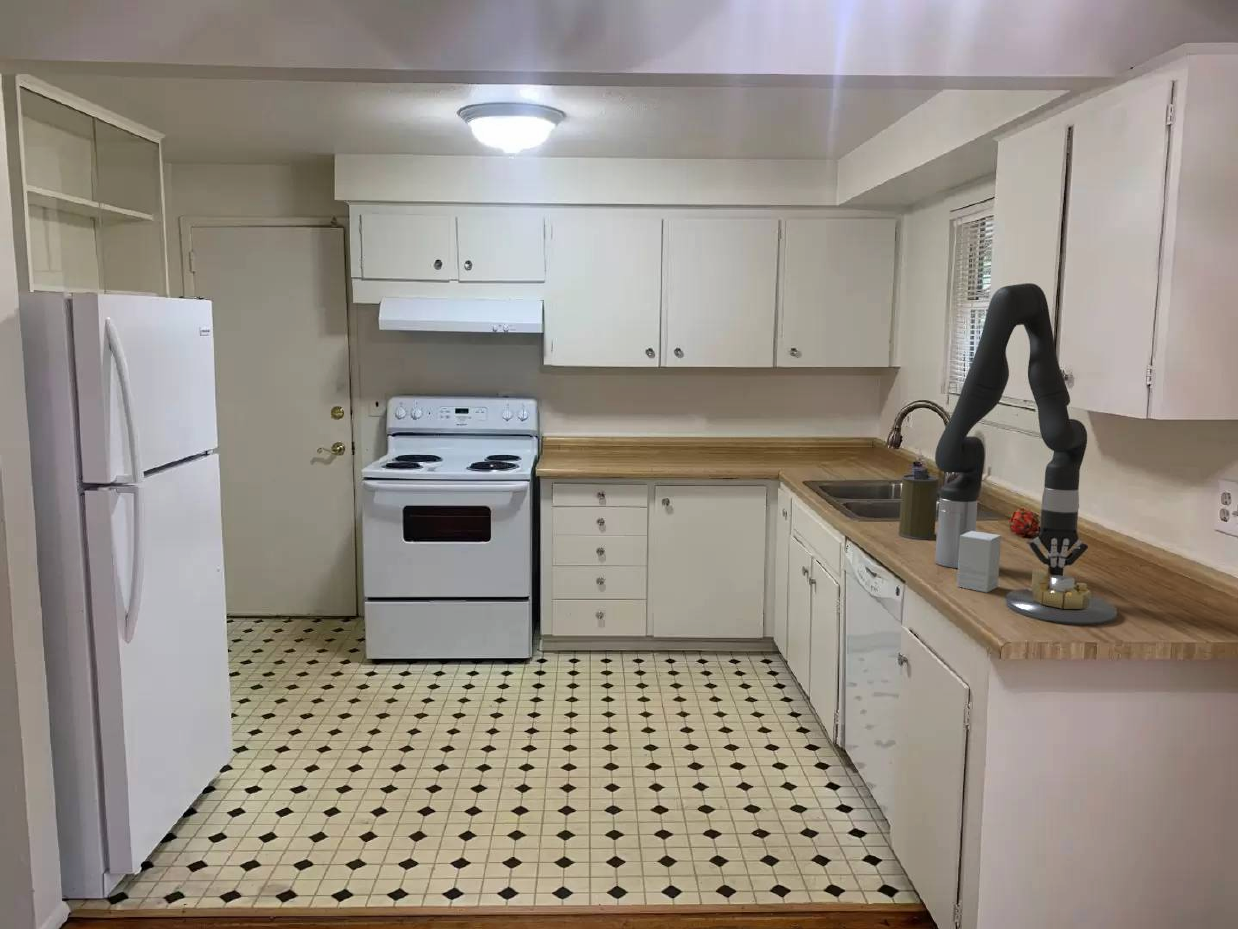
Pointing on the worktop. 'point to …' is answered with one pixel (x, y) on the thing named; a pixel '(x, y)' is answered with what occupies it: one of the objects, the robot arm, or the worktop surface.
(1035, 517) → the dragon fruit
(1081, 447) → the robot arm
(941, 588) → the worktop surface
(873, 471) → the worktop surface
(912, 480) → the canister
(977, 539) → the supplement box
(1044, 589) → the tan curved piece
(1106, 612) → the flange
